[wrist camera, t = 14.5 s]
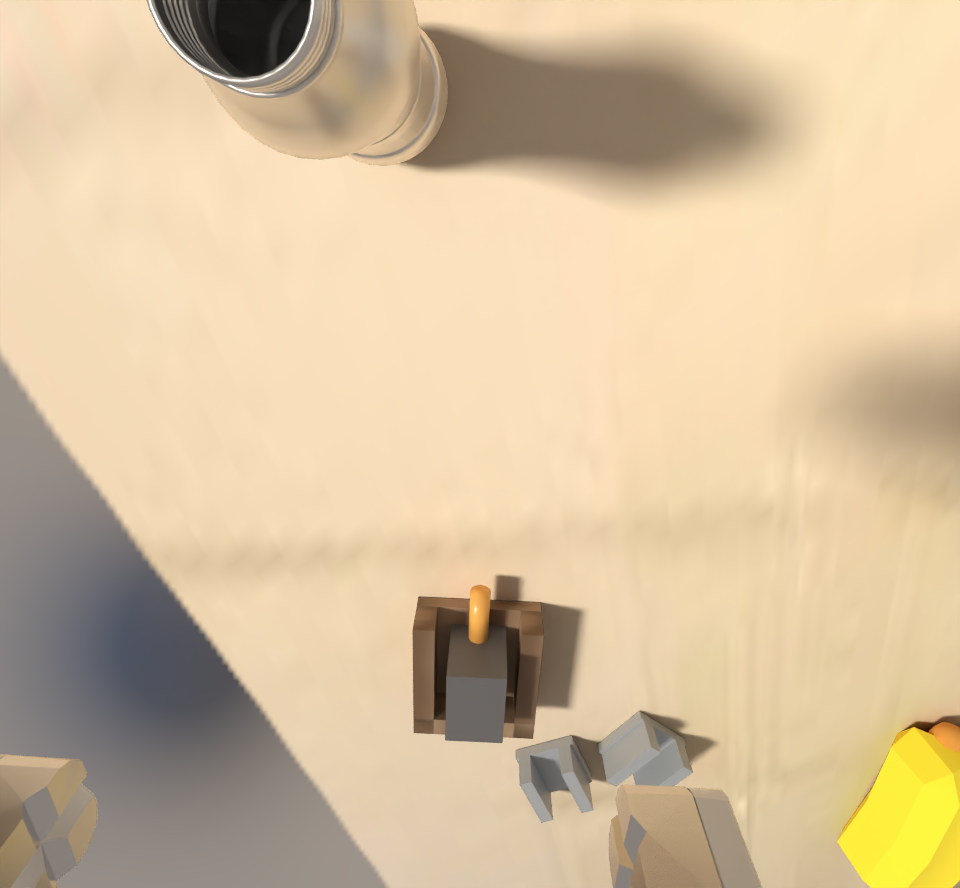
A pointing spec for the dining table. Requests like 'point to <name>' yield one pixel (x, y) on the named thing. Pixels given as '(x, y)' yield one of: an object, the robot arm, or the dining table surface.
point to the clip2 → (554, 775)
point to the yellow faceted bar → (911, 814)
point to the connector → (476, 675)
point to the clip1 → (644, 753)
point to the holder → (434, 652)
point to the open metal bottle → (316, 72)
